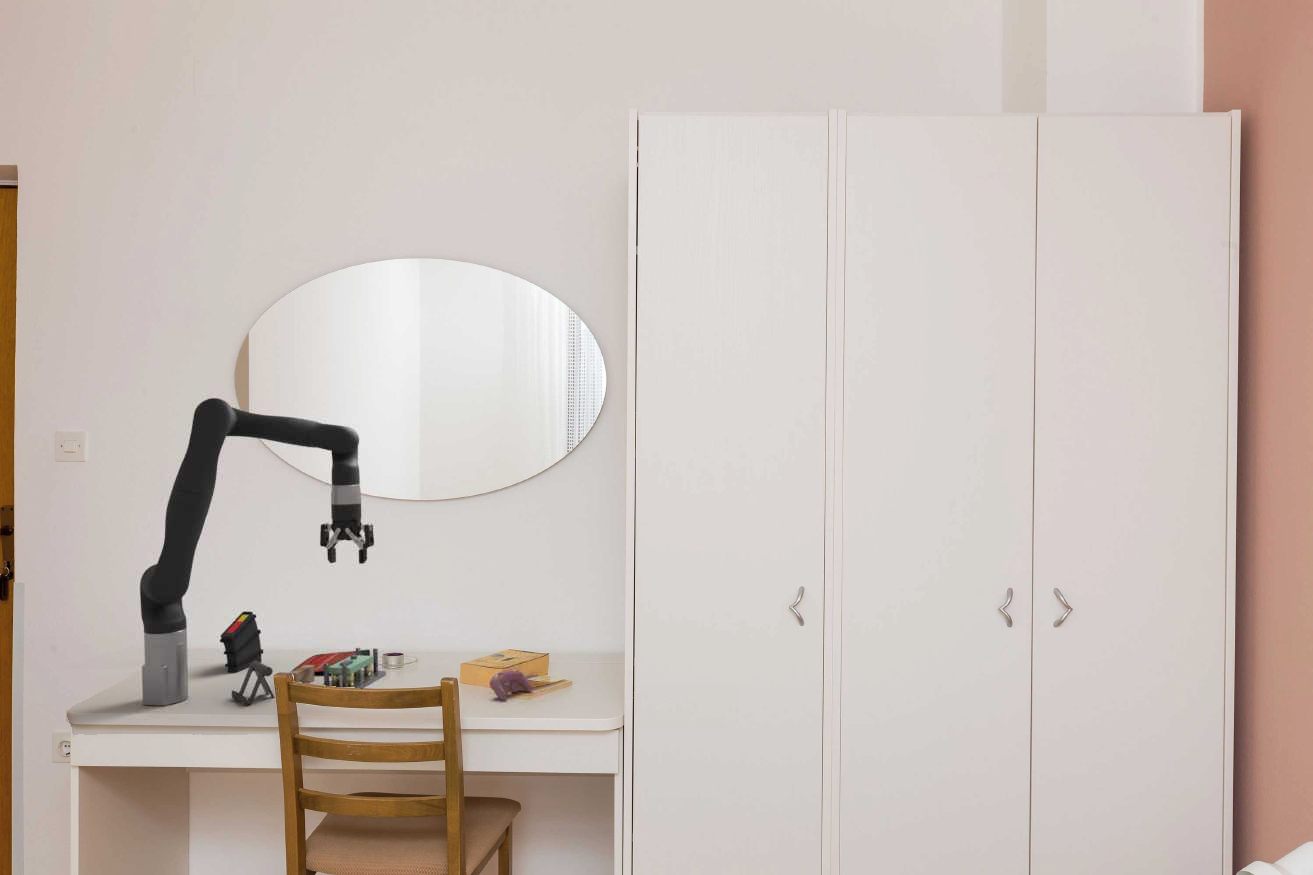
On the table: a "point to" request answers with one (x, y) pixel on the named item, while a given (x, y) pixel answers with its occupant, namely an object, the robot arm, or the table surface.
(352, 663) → the board
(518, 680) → the purple animal figurine
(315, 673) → the binder
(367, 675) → the chassis
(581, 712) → the table surface
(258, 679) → the portable electronic device stand
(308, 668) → the rest
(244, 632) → the black box
